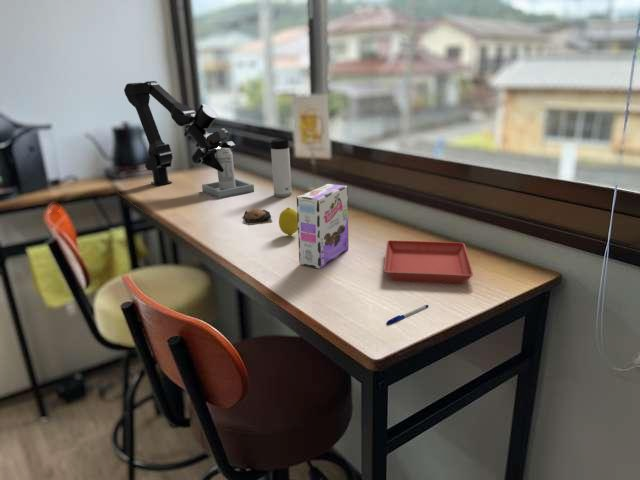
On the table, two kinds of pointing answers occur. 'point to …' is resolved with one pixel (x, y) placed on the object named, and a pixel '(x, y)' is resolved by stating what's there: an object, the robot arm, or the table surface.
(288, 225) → the lemon
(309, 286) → the table surface
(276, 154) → the travel mug
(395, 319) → the ballpoint pen
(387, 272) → the plant saucer
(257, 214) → the abalone
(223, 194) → the tray
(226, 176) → the energy drink can
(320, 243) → the candy box
